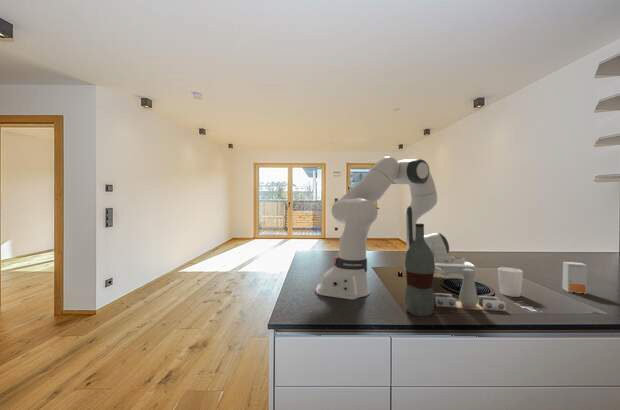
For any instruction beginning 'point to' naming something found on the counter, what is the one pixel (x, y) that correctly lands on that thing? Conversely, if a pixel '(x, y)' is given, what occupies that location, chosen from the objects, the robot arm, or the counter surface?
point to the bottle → (419, 276)
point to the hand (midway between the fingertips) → (455, 272)
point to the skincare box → (574, 277)
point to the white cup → (510, 281)
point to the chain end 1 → (444, 300)
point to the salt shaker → (468, 289)
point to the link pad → (477, 307)
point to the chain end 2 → (491, 303)
